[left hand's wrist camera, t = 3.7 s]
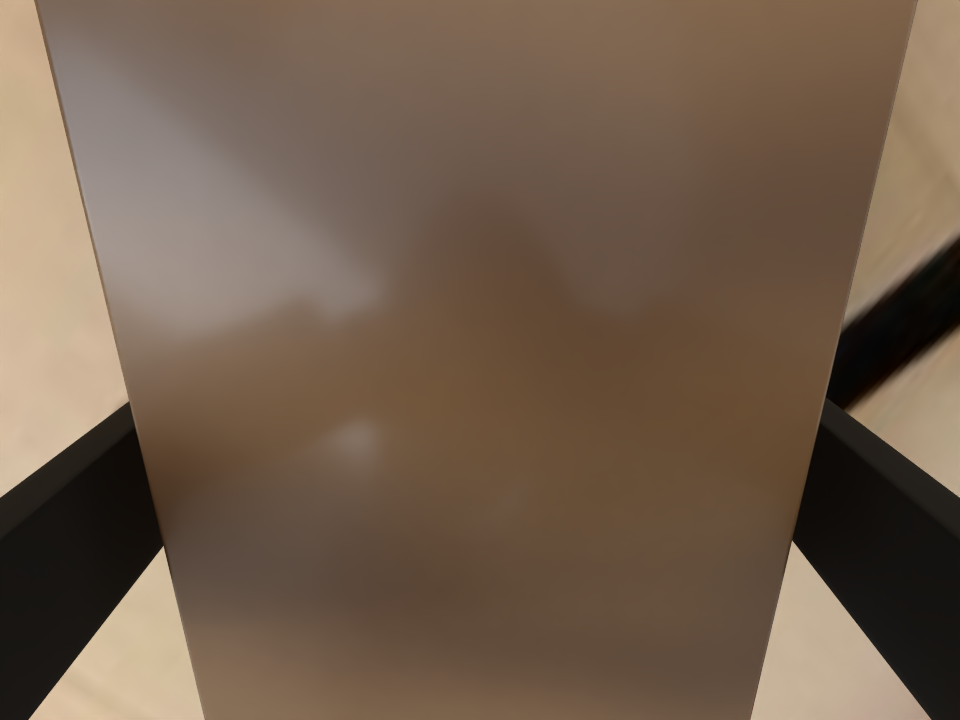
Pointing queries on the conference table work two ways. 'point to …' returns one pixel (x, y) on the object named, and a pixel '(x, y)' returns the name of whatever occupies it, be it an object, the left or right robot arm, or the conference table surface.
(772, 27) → the cabinet
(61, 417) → the conference table surface
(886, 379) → the conference table surface
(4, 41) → the conference table surface
